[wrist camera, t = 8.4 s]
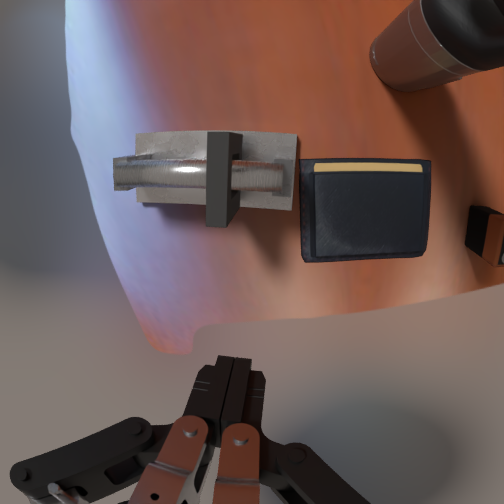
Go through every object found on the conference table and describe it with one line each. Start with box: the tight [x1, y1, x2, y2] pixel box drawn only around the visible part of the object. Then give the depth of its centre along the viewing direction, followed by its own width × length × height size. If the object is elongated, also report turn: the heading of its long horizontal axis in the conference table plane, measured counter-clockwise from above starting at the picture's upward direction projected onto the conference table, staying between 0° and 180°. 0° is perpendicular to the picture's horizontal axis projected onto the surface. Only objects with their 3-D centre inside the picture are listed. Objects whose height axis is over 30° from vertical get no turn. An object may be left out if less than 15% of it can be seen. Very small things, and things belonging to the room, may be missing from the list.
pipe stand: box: [113, 131, 297, 211], centre depth 33 cm, size 22×10×10 cm, turn 87°
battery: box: [465, 205, 504, 267], centre depth 31 cm, size 4×7×10 cm, turn 3°
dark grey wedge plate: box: [206, 132, 243, 228], centre depth 30 cm, size 2×9×9 cm, turn 177°
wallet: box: [299, 158, 431, 262], centre depth 37 cm, size 20×2×15 cm
